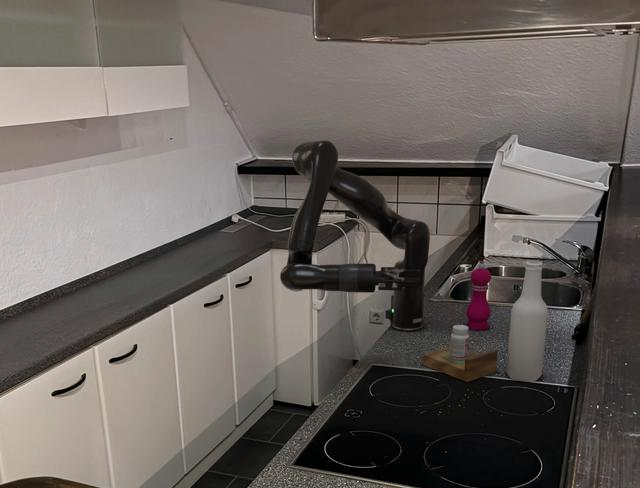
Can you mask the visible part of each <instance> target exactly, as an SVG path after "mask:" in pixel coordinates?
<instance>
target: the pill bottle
mask: <svg viewBox="0 0 640 488" xmlns="http://www.w3.org/2000/svg"><path fill="white" fill-rule="evenodd" d="M449 346H450V357H451V358H452V359H455V360H464V359H467V358H468V352H469V348H470V334H469V328H468V326H467V325H464V324H455V325H453V326H452V333H451V334H450V345H449Z"/></svg>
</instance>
